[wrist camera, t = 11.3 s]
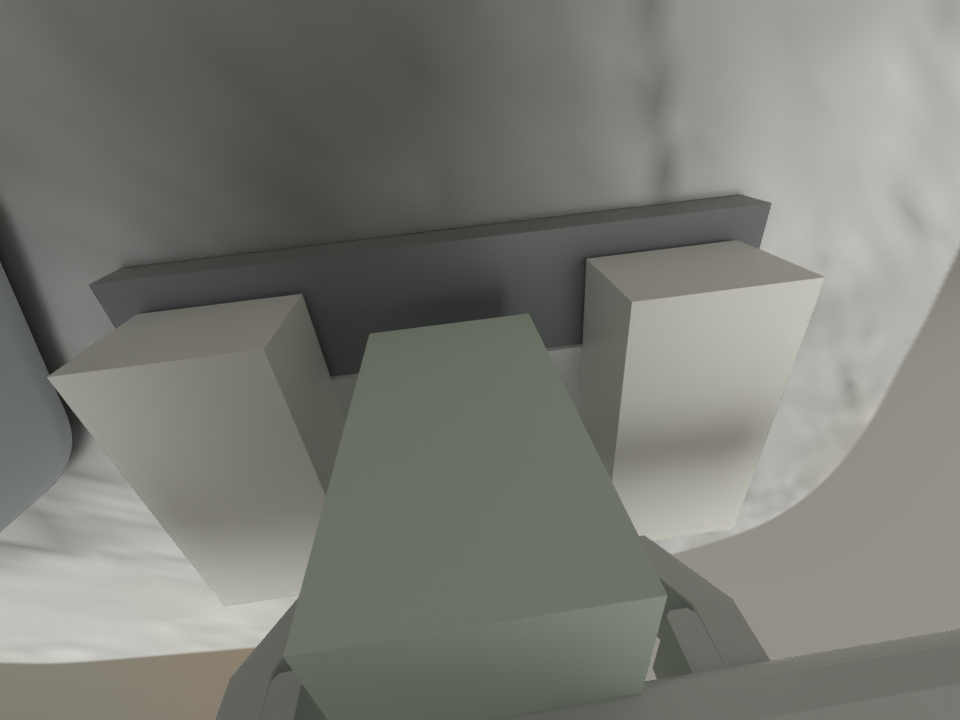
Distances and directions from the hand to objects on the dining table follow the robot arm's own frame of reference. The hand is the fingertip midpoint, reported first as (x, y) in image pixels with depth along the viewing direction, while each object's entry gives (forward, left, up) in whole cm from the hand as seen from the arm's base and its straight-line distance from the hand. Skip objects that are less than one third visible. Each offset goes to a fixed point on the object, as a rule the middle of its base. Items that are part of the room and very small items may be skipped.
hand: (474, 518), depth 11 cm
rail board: (0, 0, -7) cm, 7 cm away
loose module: (0, 0, -3) cm, 3 cm away
